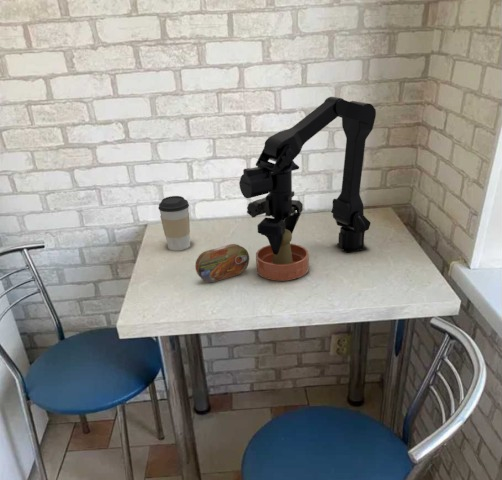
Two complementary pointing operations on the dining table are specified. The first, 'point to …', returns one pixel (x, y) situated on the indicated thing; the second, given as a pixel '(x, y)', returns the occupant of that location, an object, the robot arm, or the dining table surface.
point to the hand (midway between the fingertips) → (281, 247)
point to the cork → (284, 250)
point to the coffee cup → (175, 222)
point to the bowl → (282, 270)
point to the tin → (222, 262)
